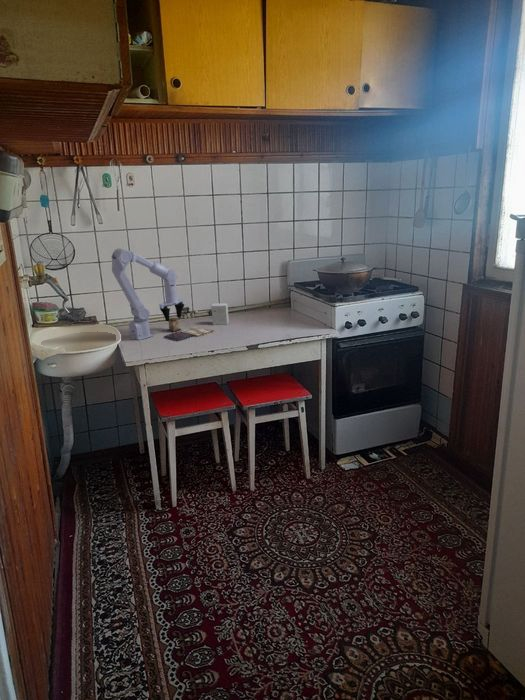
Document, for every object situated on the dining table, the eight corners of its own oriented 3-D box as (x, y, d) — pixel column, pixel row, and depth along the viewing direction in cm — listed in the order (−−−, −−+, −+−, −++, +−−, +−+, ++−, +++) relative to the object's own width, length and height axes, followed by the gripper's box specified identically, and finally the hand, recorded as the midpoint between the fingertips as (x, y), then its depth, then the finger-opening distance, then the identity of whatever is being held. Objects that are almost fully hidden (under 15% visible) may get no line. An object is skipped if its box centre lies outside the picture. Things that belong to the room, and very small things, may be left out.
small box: (228, 322, 268) (227, 303, 265) (227, 324, 263) (226, 305, 260) (214, 322, 269) (213, 303, 266) (212, 324, 264) (211, 305, 260)
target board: (197, 336, 242) (197, 335, 242) (179, 332, 250) (179, 331, 250) (214, 331, 250) (214, 330, 250) (195, 327, 259) (195, 326, 258)
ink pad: (178, 341, 236) (178, 339, 236) (163, 337, 243) (163, 335, 242) (192, 336, 243) (192, 334, 242) (177, 333, 249) (177, 331, 249)
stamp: (173, 332, 251) (172, 320, 249) (167, 331, 254) (166, 318, 252) (181, 330, 255) (180, 318, 253) (174, 329, 258) (173, 316, 256)
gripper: (164, 296, 241) (167, 323, 245) (187, 291, 251) (189, 317, 256) (155, 295, 245) (158, 321, 249) (177, 290, 256) (180, 315, 260)
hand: (173, 319), depth 253 cm, fingers open, 7 cm apart
